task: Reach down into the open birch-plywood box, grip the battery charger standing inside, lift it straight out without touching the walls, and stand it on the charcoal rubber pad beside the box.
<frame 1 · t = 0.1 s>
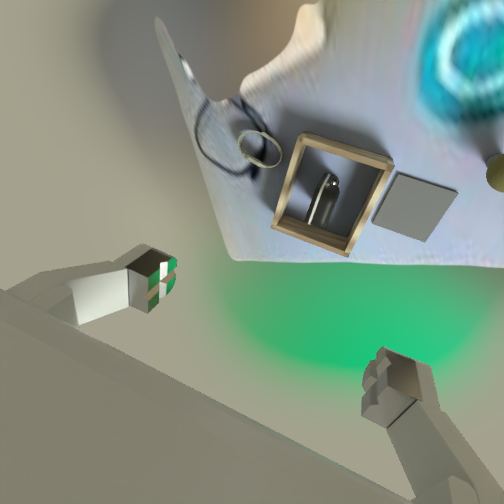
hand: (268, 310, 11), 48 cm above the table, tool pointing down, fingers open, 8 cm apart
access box: (328, 191, 55), on the table
wristwatch: (264, 147, 56), on the table
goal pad: (411, 208, 51), on the table
light bulb: (494, 161, 44), on the table
battery charger: (329, 190, 55), resting in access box
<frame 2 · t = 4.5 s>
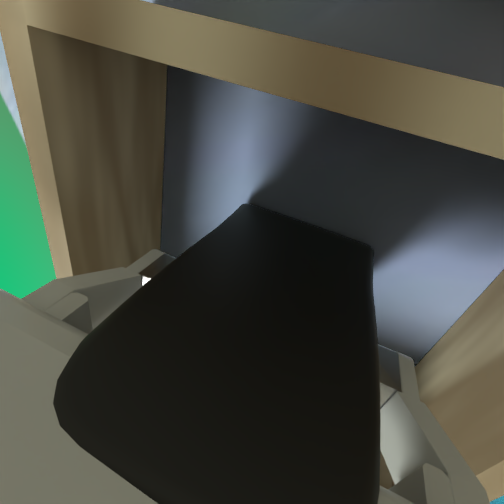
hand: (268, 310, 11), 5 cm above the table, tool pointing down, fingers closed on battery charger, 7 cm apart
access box: (296, 253, 14), on the table
battery charger: (296, 251, 15), resting in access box, touching gripper
when the fingers open (7 cm above the table, at t = 12.4 s): battery charger drops 2 cm, resting on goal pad.
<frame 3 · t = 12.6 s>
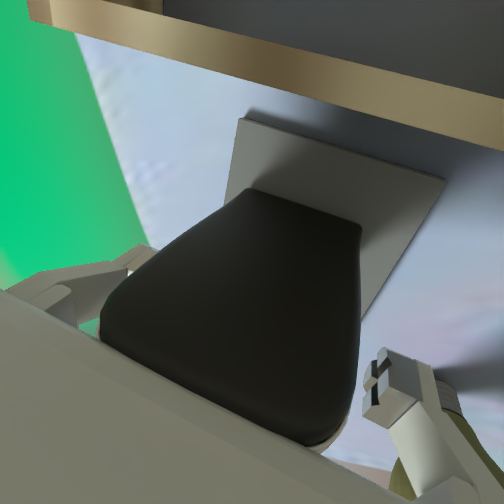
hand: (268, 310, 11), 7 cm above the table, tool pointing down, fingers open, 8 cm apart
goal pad: (304, 233, 16), on the table
light bulb: (430, 381, 18), on the table
battery charger: (294, 231, 16), resting on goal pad, touching gripper
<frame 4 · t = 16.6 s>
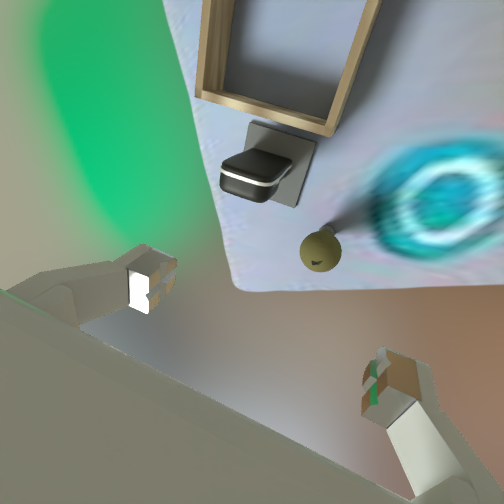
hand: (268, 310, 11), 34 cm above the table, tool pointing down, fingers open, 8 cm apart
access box: (289, 43, 35), on the table
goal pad: (273, 166, 43), on the table
light bulb: (327, 230, 45), on the table
battery charger: (269, 165, 42), resting on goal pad
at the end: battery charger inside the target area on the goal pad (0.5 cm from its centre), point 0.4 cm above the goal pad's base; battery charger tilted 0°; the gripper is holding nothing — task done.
